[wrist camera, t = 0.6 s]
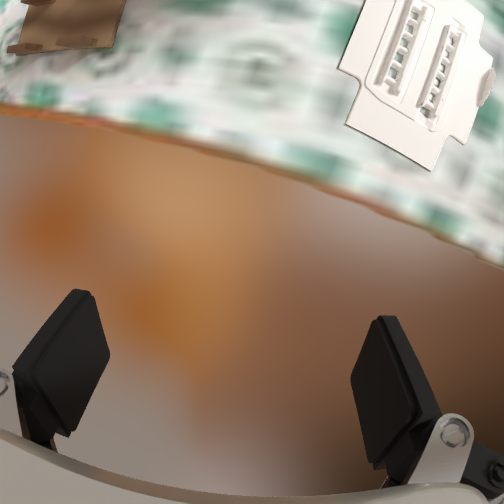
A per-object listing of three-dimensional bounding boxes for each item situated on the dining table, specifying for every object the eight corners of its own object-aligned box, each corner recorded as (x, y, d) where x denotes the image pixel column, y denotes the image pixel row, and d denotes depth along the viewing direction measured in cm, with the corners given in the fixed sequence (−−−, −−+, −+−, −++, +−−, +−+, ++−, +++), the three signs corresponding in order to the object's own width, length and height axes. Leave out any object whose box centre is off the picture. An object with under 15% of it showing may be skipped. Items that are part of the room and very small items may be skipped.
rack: (33, 4, 24) (13, -1, 19) (129, -12, 25) (113, -24, 20) (19, 55, 28) (-2, 54, 23) (112, 47, 29) (93, 41, 24)
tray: (318, 113, 33) (324, 112, 30) (380, -46, 22) (389, -56, 19) (445, 181, 36) (459, 187, 32) (491, 31, 25) (506, 28, 21)
